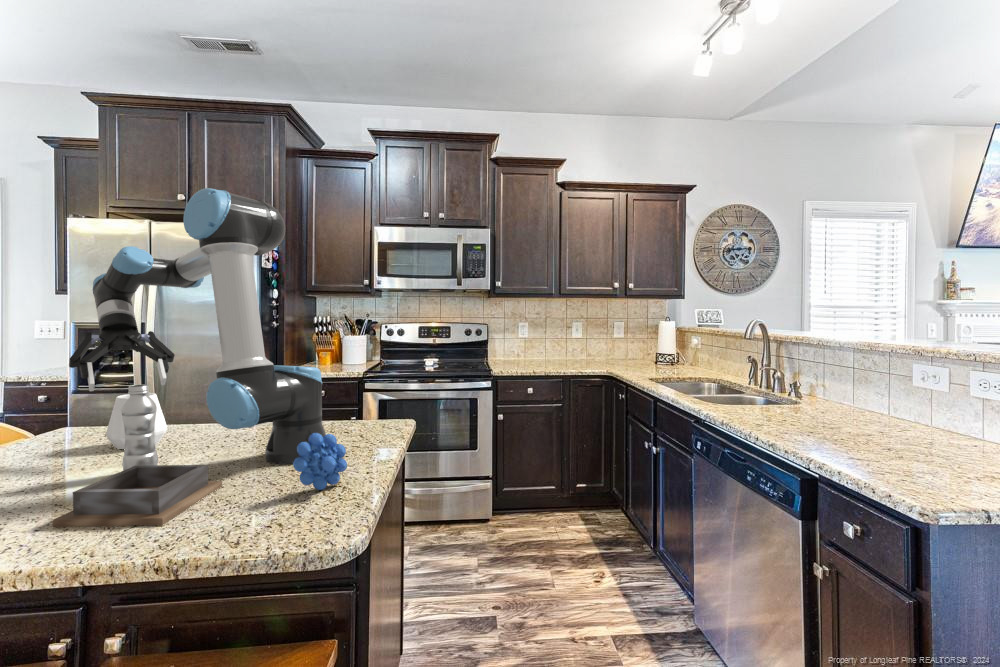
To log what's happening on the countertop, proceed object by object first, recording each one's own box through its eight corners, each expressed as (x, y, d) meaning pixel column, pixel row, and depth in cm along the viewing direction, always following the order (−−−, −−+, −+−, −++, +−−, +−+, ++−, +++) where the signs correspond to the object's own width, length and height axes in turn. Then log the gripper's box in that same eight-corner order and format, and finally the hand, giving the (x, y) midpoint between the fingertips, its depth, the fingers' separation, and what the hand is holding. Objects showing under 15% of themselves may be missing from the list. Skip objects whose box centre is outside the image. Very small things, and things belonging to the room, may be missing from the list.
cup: (128, 439, 134) (127, 391, 133) (177, 438, 135) (176, 391, 135) (92, 453, 121) (91, 399, 120) (148, 451, 122) (147, 399, 122)
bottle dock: (222, 486, 97) (221, 462, 96) (162, 525, 79) (162, 494, 78) (133, 487, 96) (132, 462, 96) (53, 526, 78) (52, 496, 78)
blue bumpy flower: (305, 503, 88) (304, 441, 87) (287, 495, 92) (287, 435, 92) (358, 486, 97) (357, 429, 96) (340, 479, 101) (339, 424, 101)
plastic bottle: (118, 480, 100) (116, 388, 100) (126, 471, 106) (124, 384, 106) (155, 475, 103) (153, 386, 103) (161, 467, 109) (159, 382, 109)
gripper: (172, 330, 132) (187, 388, 122) (50, 332, 113) (57, 400, 104) (176, 311, 128) (193, 370, 118) (51, 310, 110) (58, 379, 100)
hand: (129, 384), depth 111 cm, fingers open, 13 cm apart
